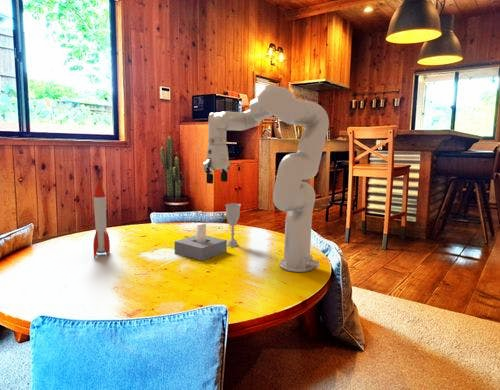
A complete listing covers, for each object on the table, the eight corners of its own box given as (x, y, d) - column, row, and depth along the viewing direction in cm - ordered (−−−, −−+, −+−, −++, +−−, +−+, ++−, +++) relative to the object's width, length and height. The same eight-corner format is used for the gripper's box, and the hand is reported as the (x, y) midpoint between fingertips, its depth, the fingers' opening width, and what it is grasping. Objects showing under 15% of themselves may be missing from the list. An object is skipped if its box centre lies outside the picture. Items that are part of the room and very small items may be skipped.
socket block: (226, 251, 154) (226, 240, 154) (201, 260, 142) (201, 248, 142) (200, 245, 163) (200, 234, 162) (174, 253, 151) (174, 241, 150)
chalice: (233, 248, 160) (233, 207, 157) (221, 245, 164) (221, 205, 161) (243, 244, 165) (244, 204, 163) (231, 241, 169) (232, 202, 167)
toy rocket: (93, 257, 144) (89, 180, 139) (95, 253, 149) (91, 178, 144) (109, 256, 145) (105, 180, 140) (110, 252, 150) (106, 178, 146)
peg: (207, 252, 153) (208, 223, 151) (201, 254, 150) (201, 225, 148) (200, 250, 155) (200, 222, 154) (193, 252, 152) (193, 224, 150)
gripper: (211, 142, 149) (210, 184, 151) (236, 142, 163) (235, 181, 165) (197, 142, 153) (197, 183, 155) (222, 142, 167) (222, 180, 170)
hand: (217, 182), depth 160 cm, fingers open, 9 cm apart
